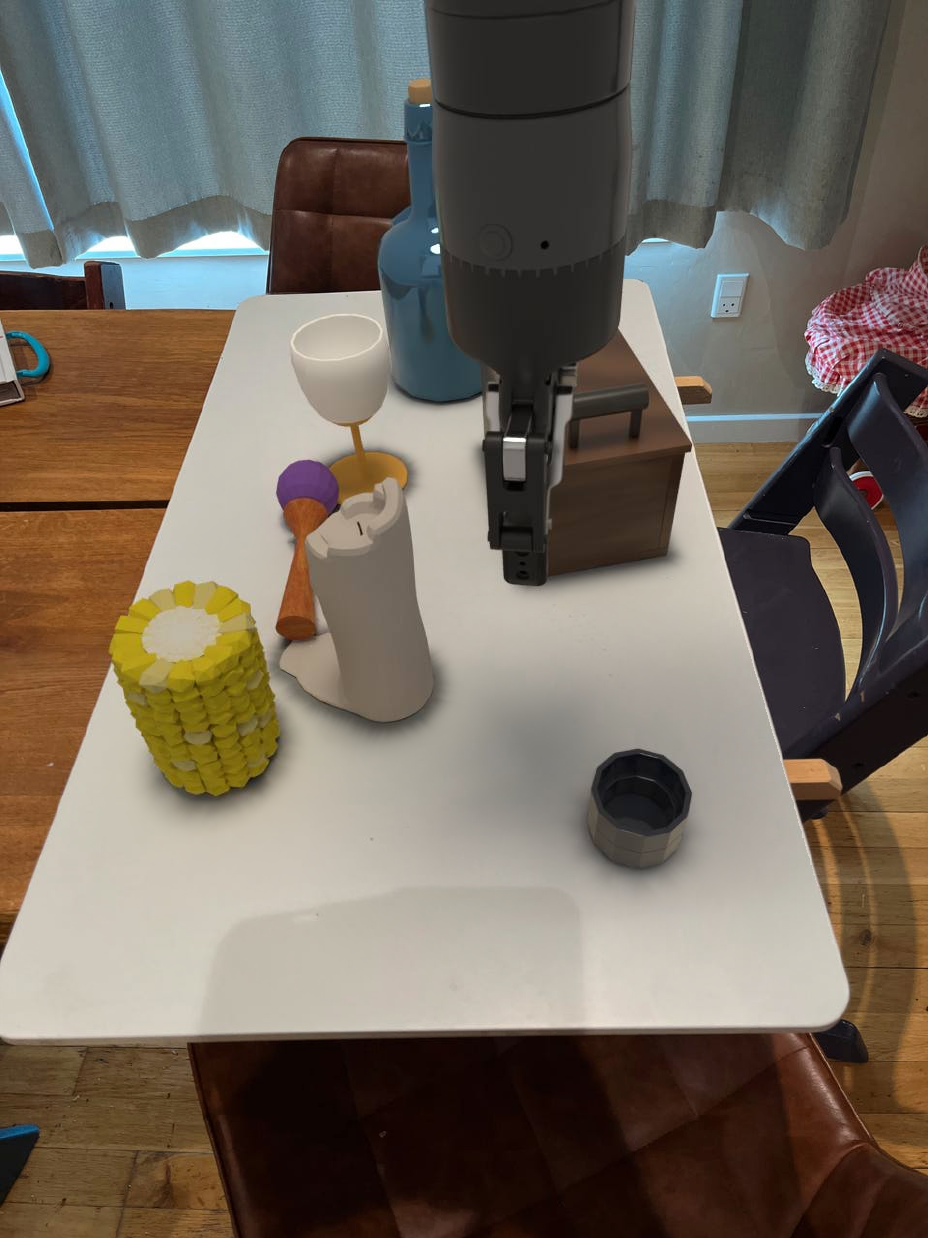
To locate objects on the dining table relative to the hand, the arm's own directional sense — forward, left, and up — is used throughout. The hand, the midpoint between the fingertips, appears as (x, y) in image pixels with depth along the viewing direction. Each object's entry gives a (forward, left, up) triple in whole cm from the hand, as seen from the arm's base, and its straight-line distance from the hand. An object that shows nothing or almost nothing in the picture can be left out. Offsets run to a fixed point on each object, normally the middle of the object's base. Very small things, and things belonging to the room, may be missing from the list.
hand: (535, 525), depth 43 cm
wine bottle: (-2, -53, -22) cm, 57 cm away
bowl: (-5, +8, -22) cm, 24 cm away
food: (+23, -5, -22) cm, 32 cm away
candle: (+13, -9, -22) cm, 27 cm away
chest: (-10, -27, -22) cm, 36 cm away
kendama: (+16, -23, -22) cm, 36 cm away
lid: (-10, -26, -9) cm, 30 cm away
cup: (+10, -35, -22) cm, 42 cm away
